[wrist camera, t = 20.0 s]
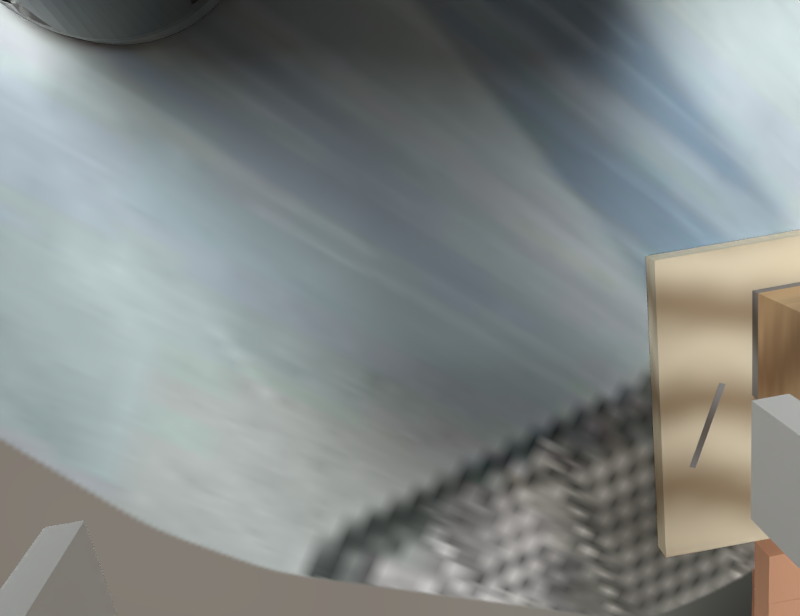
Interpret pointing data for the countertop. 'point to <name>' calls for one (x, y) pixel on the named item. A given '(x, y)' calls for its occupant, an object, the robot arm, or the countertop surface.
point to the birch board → (707, 385)
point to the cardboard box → (776, 341)
